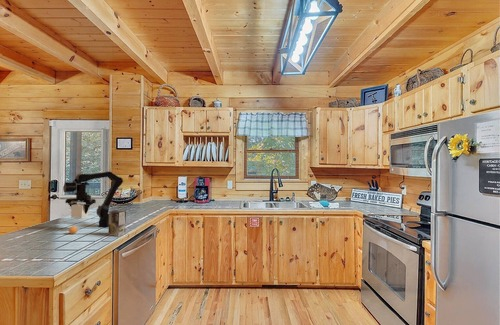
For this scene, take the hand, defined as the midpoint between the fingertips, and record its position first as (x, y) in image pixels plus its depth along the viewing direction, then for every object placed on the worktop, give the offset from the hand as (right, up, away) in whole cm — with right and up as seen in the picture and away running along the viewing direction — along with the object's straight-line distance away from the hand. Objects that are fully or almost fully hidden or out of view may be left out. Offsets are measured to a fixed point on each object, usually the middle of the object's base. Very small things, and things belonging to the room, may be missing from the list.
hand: (80, 213), depth 188 cm
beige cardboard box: (0, -3, 0) cm, 2 cm away
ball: (+1, -10, -9) cm, 13 cm away
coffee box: (+30, -14, -8) cm, 34 cm away
